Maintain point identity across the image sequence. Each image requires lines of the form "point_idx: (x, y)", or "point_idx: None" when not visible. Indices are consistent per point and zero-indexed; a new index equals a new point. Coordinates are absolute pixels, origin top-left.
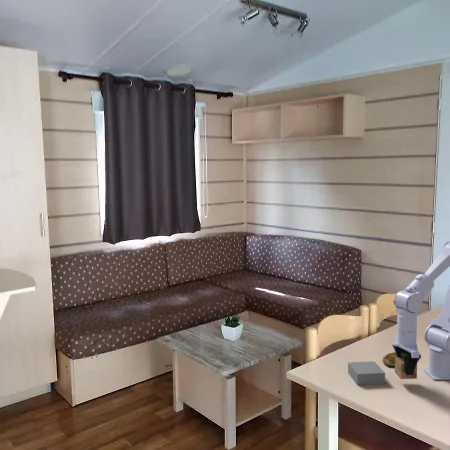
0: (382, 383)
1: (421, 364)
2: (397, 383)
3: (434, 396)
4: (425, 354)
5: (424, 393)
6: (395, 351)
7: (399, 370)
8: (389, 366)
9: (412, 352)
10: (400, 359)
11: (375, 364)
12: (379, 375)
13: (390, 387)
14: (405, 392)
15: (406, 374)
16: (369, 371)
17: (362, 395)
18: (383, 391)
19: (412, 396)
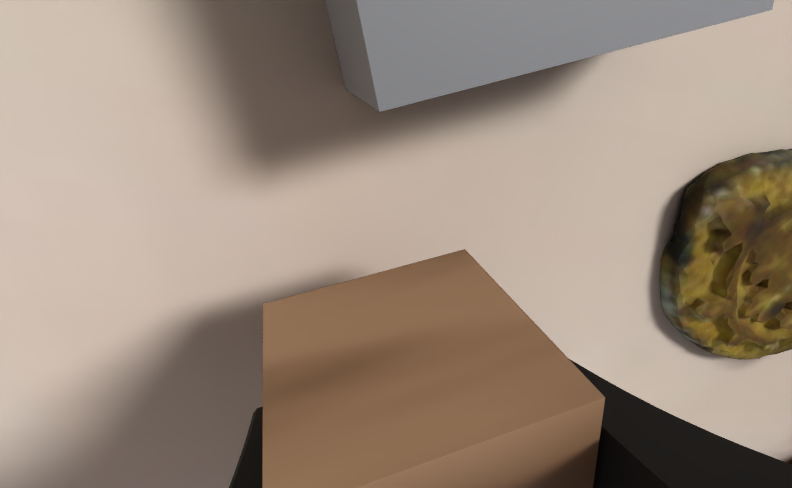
0: (340, 58)
1: (669, 394)
2: (370, 227)
3: (165, 481)
4: (770, 409)
5: (201, 423)
6: (760, 475)
7: (327, 352)
8: (690, 194)
9: None
10: (492, 482)
11: (676, 2)
12: (349, 5)
13: (255, 143)
14: (166, 285)
15: (255, 415)
16: None
17: None
18: (96, 26)
19: (86, 341)
